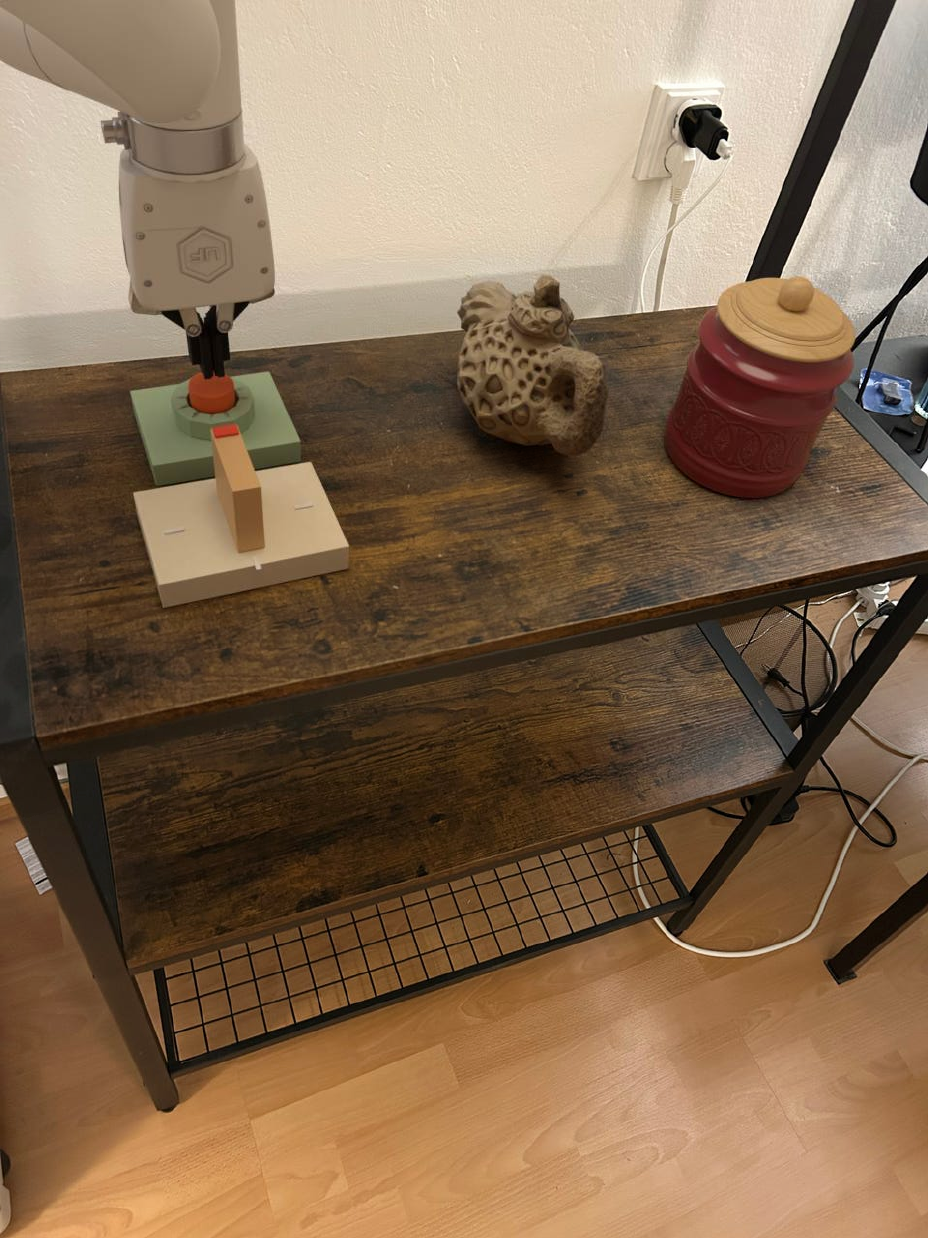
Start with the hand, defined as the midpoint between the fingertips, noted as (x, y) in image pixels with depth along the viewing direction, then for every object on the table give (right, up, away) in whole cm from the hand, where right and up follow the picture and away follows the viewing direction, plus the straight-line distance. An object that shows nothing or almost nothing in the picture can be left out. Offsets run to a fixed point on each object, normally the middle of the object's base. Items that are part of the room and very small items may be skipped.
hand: (210, 367), depth 78 cm
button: (0, -2, +2) cm, 3 cm away
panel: (+3, -14, -3) cm, 15 cm away
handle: (+3, -13, -5) cm, 14 cm away
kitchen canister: (+45, -5, +12) cm, 47 cm away
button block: (-1, -5, +5) cm, 7 cm away
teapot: (+25, -3, +10) cm, 27 cm away
